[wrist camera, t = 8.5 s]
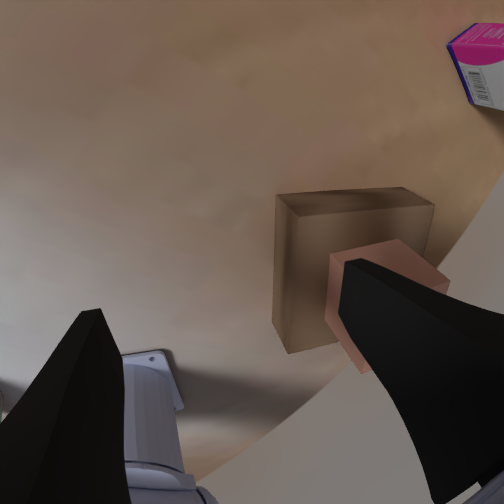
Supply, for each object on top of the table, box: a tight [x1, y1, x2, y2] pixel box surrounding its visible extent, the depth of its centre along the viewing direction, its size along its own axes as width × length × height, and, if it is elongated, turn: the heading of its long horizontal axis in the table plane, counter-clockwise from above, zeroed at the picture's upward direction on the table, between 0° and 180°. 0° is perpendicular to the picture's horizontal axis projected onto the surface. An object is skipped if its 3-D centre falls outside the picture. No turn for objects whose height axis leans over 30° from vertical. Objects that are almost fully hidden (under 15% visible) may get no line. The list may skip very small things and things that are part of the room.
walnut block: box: [272, 187, 434, 354], centre depth 21 cm, size 10×10×4 cm
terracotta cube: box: [325, 239, 450, 374], centre depth 17 cm, size 5×5×5 cm
